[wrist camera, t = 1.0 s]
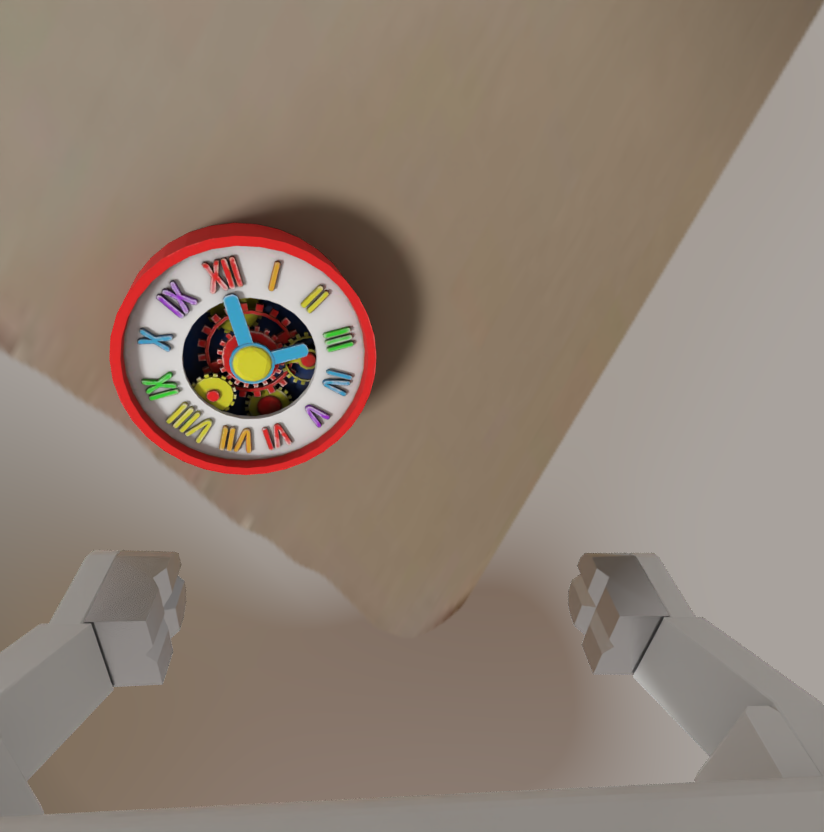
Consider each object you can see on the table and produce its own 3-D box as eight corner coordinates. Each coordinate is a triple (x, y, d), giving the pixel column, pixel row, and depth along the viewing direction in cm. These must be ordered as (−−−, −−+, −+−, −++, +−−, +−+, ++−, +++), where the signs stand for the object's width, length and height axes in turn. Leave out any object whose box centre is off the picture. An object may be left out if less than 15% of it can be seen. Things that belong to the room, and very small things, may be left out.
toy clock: (171, 503, 46) (55, 272, 36) (176, 467, 51) (75, 254, 41) (395, 436, 50) (348, 208, 40) (379, 408, 55) (334, 198, 44)
